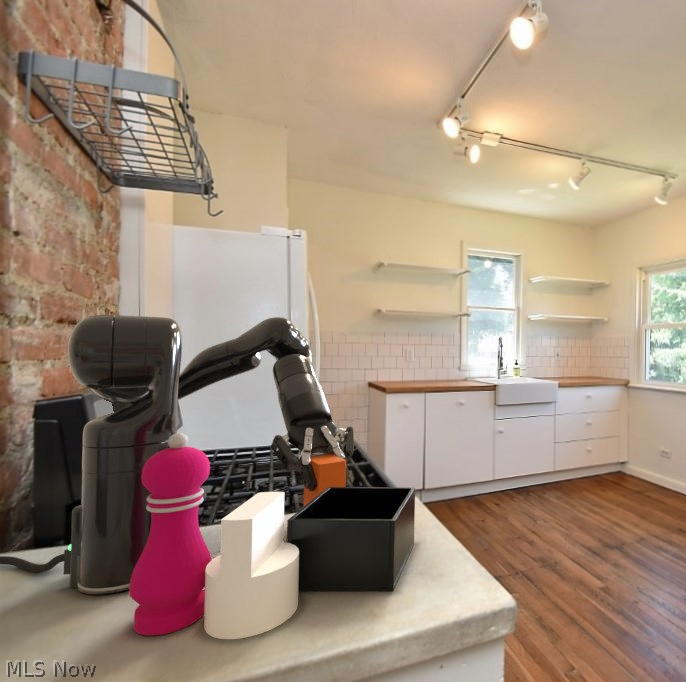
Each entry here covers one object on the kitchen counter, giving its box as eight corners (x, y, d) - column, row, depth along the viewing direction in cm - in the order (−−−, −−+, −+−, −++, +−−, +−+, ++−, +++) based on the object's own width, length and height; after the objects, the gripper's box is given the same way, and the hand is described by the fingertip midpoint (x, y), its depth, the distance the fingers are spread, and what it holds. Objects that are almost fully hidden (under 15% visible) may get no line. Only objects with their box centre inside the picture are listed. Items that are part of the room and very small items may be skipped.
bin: (285, 591, 54) (287, 520, 55) (327, 544, 67) (328, 486, 68) (393, 591, 55) (394, 520, 55) (414, 544, 68) (415, 487, 68)
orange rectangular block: (317, 528, 71) (319, 464, 71) (303, 516, 76) (304, 457, 76) (345, 521, 74) (346, 460, 74) (329, 510, 79) (330, 453, 79)
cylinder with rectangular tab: (279, 636, 46) (282, 519, 46) (184, 642, 45) (187, 521, 45) (309, 589, 55) (311, 490, 55) (230, 592, 54) (233, 492, 54)
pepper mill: (169, 643, 45) (177, 441, 45) (108, 634, 46) (116, 437, 46) (227, 603, 52) (233, 429, 52) (172, 597, 53) (179, 426, 53)
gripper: (335, 413, 89) (362, 488, 80) (255, 420, 79) (276, 507, 70) (348, 388, 85) (377, 464, 77) (265, 393, 75) (289, 481, 67)
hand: (329, 484), depth 74 cm, fingers closed on orange rectangular block, 4 cm apart
